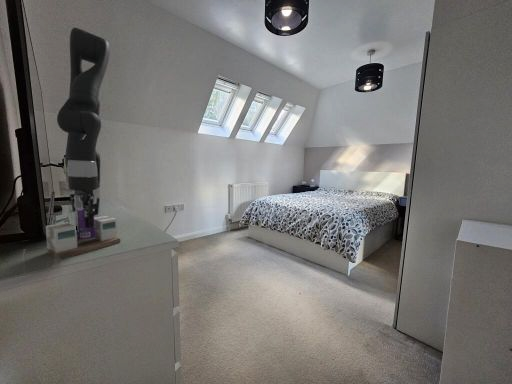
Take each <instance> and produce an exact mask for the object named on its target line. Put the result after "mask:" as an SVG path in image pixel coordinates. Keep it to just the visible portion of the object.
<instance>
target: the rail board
mask: <svg viewBox="0 0 512 384" xmlns="http://www.w3.org/2000/svg"><path fill="white" fill-rule="evenodd" d="M94 225H95V238H94V239H92V240H87V241H78V240H77V230H76V226H74V224H71V223H68V222H64V223H63V222H61V223H56V224H50V225H45V233H46V234H45V235H46V236H45V237H46V251H47V254H50V256H53V257H55V258H57V259H59V260H64V259H67V258H71V257H74V256H79V255H81V254H85V253H89V252H93V251H96V250H99V249H102V248H103V249H104V248H107V247H109V246H110V247H111V246H113V245H117V244H120V243H121V238H120V237H118V235H117V234H118V233H117V218H116V217H112V216H108V215H104V216H102V215H101V217H96V218H94Z"/></svg>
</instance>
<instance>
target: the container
mask: <svg viewBox="0 0 512 384" xmlns="http://www.w3.org/2000/svg"><path fill="white" fill-rule="evenodd" d="M78 196H81V197H83V195H79V194H76V195H75V206H76V226H77V230H76V235H77V240H78V241H87V240H92V239H94V238H95V225H94V227H92V228H86V227H85V215H84V211H83V210H82V209H81V203H80V201H79V197H78ZM84 206H85V205H84ZM85 207H88V205H87V206H85ZM87 212H88V209H87Z"/></svg>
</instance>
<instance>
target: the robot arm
mask: <svg viewBox="0 0 512 384" xmlns="http://www.w3.org/2000/svg"><path fill="white" fill-rule="evenodd" d="M110 53H111V51H110V44H109V42H108V40H107V39H105V38H103V37H101V36H99V35H96V34H93V33H92V32H91V33H90V32H88V31H86V30H84V29H81V28H78V27H72V29H71V30H70V35H69V57H70V58H69V60H70V78H69V79H70V81H69V94H68V98H67V99H66V101H65V103H64V104H63V105H62V107H61V108H60V109H59V111H58V113H57V116H56V122H57V125H58V127H59V128H60V129H61V131H63V132H65V133H67V138H66V139H67V140H66V149H65V156H64V158H65V159H64V161H65V167H66V169H67V186H68V190H70V191H71V193H70V194H69V199H70V205H71V209H72V210H71V211H72V213H73V225H75V226H76V206H75V195H76V194H79V195H83V197H81V196H78V197H79V201H80V203H81V209H82V210H83V211H84V215H85V227H86V228H92V227H94V218H96V217H102V212H101V211H102V209H101V208H102V207H101V205H102V204H101V156H100V153H99V152H98V151H97V150H96V147H97V143H98V139H99V136H100V134H101V133H100V132H101V129H102V121H101V118H100V111H101V110H100V107H101V102H100V100H99V94H100V89H101V85H102V83H103V80H104V77H105V74H106V71H107V68H108V65H109V62H110V61H109V60H110ZM83 61H86V62H88V63H91V64H94V65H92V66H91V67H90V68H88V69H87V70H84V66H83ZM84 205H85V206H87V205H88V207H85V206H84ZM87 209H88V212H87Z"/></svg>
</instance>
